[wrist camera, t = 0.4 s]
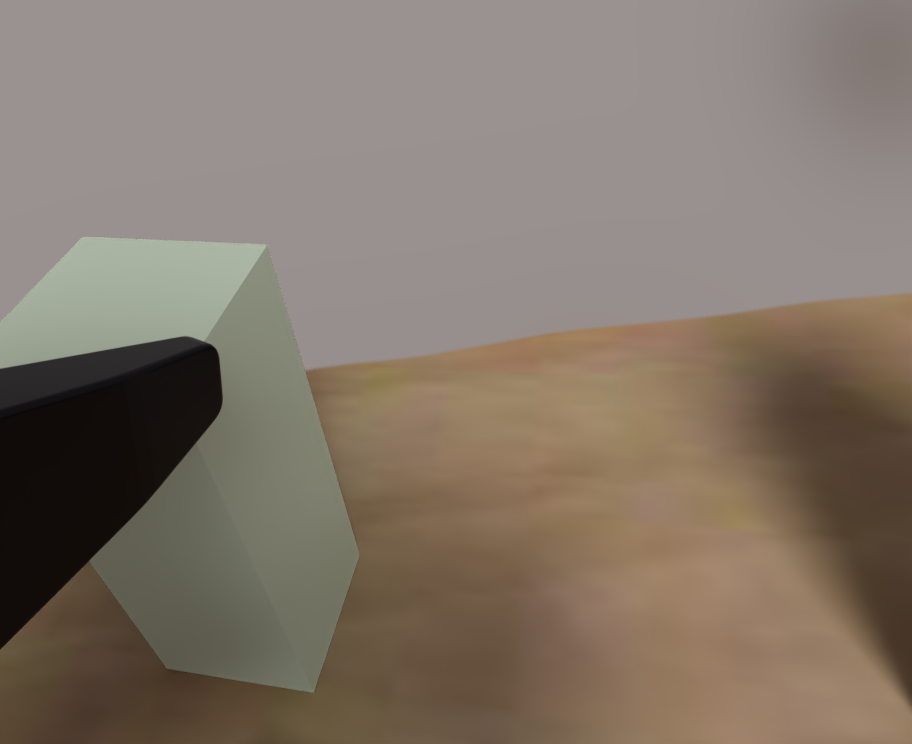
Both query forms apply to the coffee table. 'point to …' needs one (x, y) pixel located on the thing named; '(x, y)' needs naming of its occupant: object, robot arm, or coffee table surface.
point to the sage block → (212, 460)
